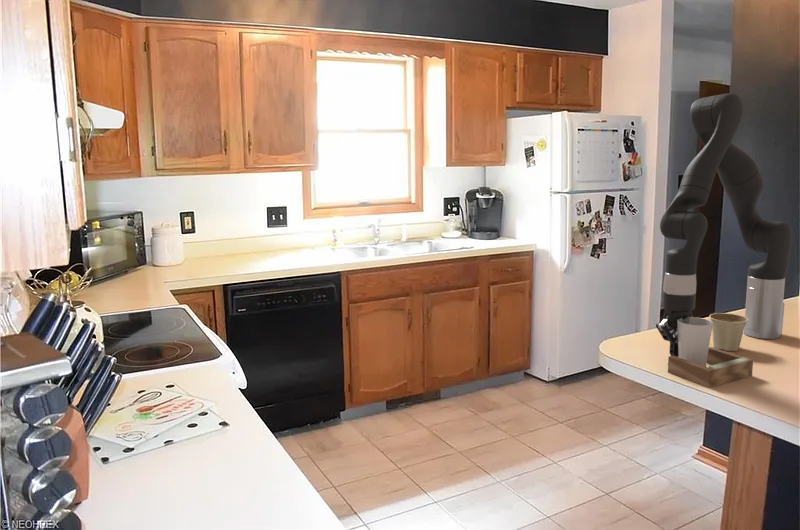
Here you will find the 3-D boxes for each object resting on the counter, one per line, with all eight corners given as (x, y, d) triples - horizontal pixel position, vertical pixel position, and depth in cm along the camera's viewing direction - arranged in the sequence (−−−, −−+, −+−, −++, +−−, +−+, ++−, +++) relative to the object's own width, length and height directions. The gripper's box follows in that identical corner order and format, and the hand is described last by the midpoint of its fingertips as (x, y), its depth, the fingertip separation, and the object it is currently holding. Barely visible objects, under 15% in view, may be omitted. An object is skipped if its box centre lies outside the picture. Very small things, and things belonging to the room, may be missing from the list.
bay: (709, 361, 157) (711, 345, 156) (752, 375, 147) (753, 358, 146) (667, 372, 151) (668, 354, 150) (708, 387, 141) (709, 369, 140)
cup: (676, 360, 159) (679, 315, 157) (711, 365, 155) (714, 319, 153) (672, 369, 152) (675, 323, 150) (708, 375, 148) (711, 327, 146)
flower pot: (754, 350, 165) (756, 319, 163) (728, 355, 162) (730, 323, 160) (724, 341, 174) (726, 311, 172) (699, 345, 170) (701, 315, 169)
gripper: (685, 284, 160) (681, 348, 163) (648, 290, 155) (644, 356, 158) (710, 290, 153) (706, 356, 157) (672, 296, 148) (668, 364, 151)
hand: (675, 356), depth 157 cm, fingers closed
